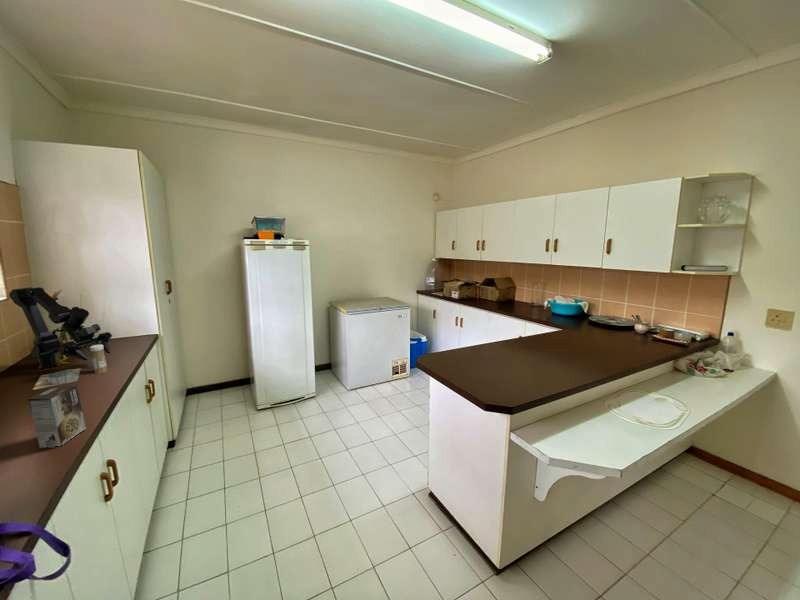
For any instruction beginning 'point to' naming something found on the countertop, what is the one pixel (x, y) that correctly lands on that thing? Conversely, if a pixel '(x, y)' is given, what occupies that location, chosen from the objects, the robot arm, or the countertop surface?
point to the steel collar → (62, 376)
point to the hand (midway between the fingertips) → (98, 356)
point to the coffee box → (57, 415)
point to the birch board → (44, 381)
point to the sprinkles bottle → (98, 358)
